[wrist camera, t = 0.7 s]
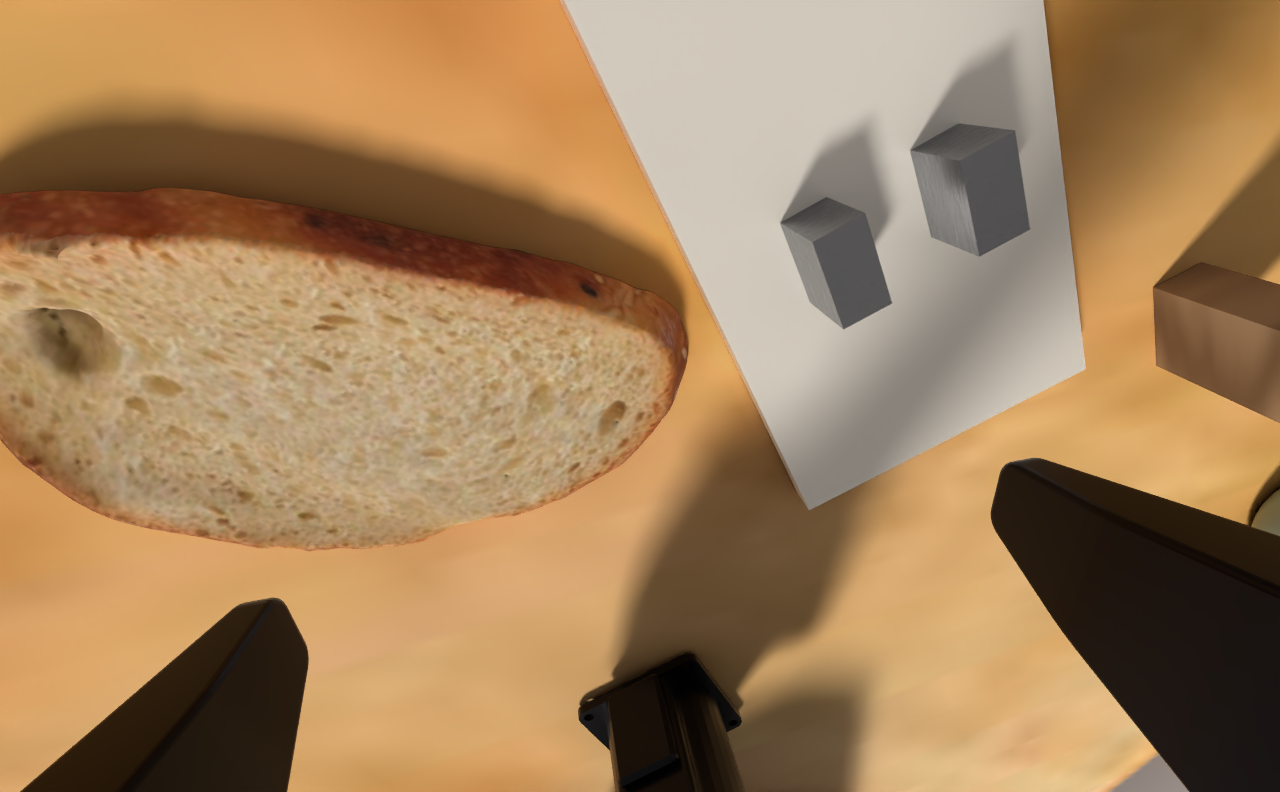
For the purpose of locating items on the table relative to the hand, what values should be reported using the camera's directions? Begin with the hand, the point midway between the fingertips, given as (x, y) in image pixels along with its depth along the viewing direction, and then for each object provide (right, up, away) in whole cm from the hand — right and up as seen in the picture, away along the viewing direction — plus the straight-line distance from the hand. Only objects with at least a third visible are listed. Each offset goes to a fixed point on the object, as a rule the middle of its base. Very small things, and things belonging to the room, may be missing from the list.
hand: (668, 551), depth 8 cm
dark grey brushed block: (+7, +8, +12) cm, 16 cm away
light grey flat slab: (+7, +8, +13) cm, 17 cm away
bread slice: (-10, +4, +13) cm, 16 cm away
